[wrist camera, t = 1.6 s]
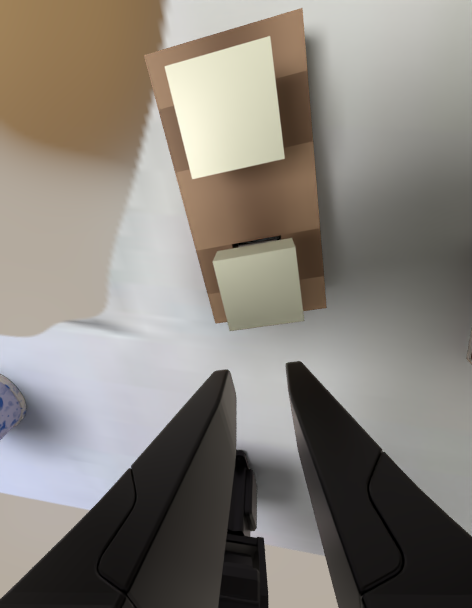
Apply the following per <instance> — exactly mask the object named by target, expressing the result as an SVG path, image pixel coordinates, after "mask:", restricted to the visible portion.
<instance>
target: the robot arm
mask: <svg viewBox="0 0 472 608" xmlns="http://www.w3.org/2000/svg"><path fill="white" fill-rule="evenodd" d="M286 374H287V384H288V392H289V398H290V404H291V410H292V416H293V423H294V429H295V435H296V441H297V447H298V452H299V456H300V460H301V464H302V468H303V472H304V476H305V479H306V483H307V487H308V491H309V495H310V499H311V503H312V507H313V510H314V514H315V518H316V522H317V526H318V530H319V534H320V537H321V541H322V545H323V549H324V553H325V557H326V560H327V565H328V568H329V572H330V576H331V580H332V584H333V588H334V592H335V595H336V599H337V603H338V607H339V608H472V536H471V535H470V534H468V533H467V532H466V531H465V530H464V529H463V528H462V527H461V526H460V525H458V524H457V523H456V522H455V521H454V520H453V519H452V518H451V517H449V516H448V515H447V514H446V513H445V512H444V511H443V510H442V509H441V508H440V507H439V506H438V505H437V504H436V503H434V502H433V501H432V500H431V499H430V498H429V497H428V496H427V495H426V494H425V493H424V492H423V491H422V490H421V489H420V488H419V487H418V486H417V485H416V484H415V483H414V482H413V481H412V480H411V479H410V478H409V477H408V476H407V475H406V474H405V473H404V472H403V471H402V470H401V469H400V468H399V467H398V466H397V465H396V464H395V463H394V461H393V460H392V459H391V458H390V457H389V456H388V455H387V454H386V453H385V452H382V449H381V448H380V447H379V445H378V444H377V443H376V442H375V441H374V440H373V439H372V438H371V437H370V436H369V435H368V434H367V432H366V431H365V430H364V429H363V428H362V427H361V426H360V425H359V424H358V423H357V422H356V421H355V419H354V418H353V417H352V416H351V415H350V414H349V413H348V412H347V411H346V410H345V409H344V408H343V406H342V405H341V404H340V403H339V402H338V401H337V400H336V399H335V398H334V397H333V396H332V395H331V393H330V392H329V391H328V390H327V389H326V388H325V387H324V386H323V385H322V384H321V383H320V382H319V380H318V379H317V378H316V377H315V376H314V375H313V374H312V373H311V372H310V371H309V370H308V369H307V367H306V366H305V365H304V364H303V363H302V362H300V361H297V362H288V363H286ZM256 528H257V484H256V480H255V476H254V473H253V470H252V469H249V465H248V462H247V458H246V455H245V453H244V452H240V451H239V452H236V392H235V388H234V384H233V380H232V377H231V373H230V371H229V370H218V371H215V372H213V373H212V374H211V376H210V377H209V378H208V379H207V380H206V381H205V382H204V384H203V385H202V386H201V387H200V388H199V389H198V390H197V392H196V393H195V394H194V395H193V396H192V397H191V398H190V399H189V401H188V402H187V403H186V404H185V405H184V406H183V407H182V409H181V410H180V411H179V412H178V413H177V414H176V415H175V417H174V418H173V419H172V420H171V421H170V422H169V423H168V424H167V426H166V427H165V428H164V429H163V430H162V431H161V432H160V434H159V435H158V436H157V437H156V438H155V439H154V440H153V442H152V443H151V444H150V445H149V446H148V447H147V448H146V449H145V451H144V452H143V453H142V454H141V455H140V456H139V457H138V459H137V460H136V461H135V462H134V463H133V464H132V466H131V468H129V469H128V470H127V471H126V472H125V473H124V474H123V475H122V477H121V478H120V479H119V480H118V481H117V482H116V483H115V484H114V486H113V487H112V488H111V489H110V490H109V491H108V492H107V493H106V494H105V495H104V496H103V498H102V499H101V500H100V501H99V502H98V503H97V504H96V505H95V506H94V507H93V508H92V509H91V510H90V511H89V512H88V513H87V514H86V515H85V516H84V517H83V518H82V519H81V520H80V521H79V522H78V523H77V524H76V525H75V526H74V527H73V529H71V530H70V531H69V532H68V533H67V534H66V535H65V536H64V538H62V539H61V540H60V541H59V542H58V543H57V544H56V545H55V546H54V547H53V548H52V549H51V550H50V551H49V552H48V553H47V554H46V555H45V556H44V557H43V558H42V559H41V560H40V561H39V562H38V563H37V564H36V565H35V566H34V567H33V568H32V569H31V570H30V571H29V572H28V573H27V574H26V575H25V576H24V577H23V578H22V579H21V580H20V581H19V582H18V583H17V584H16V585H14V586H13V587H12V588H11V589H10V590H9V591H8V592H7V593H6V594H5V595H4V596H3V597H2V598H1V599H0V608H268V587H267V573H266V562H265V548H264V538H262V537H257V538H254V537H250V531H255V529H256Z"/></svg>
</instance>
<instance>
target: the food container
mask: <svg viewBox="0 0 472 608" xmlns="http://www.w3.org/2000/svg"><path fill="white" fill-rule="evenodd" d="M466 359H467V360H468V361H469V362H470V363H471V364H472V329H471V335H470V341H469V346H468V352H467V358H466Z"/></svg>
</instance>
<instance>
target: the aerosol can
mask: <svg viewBox="0 0 472 608" xmlns="http://www.w3.org/2000/svg"><path fill="white" fill-rule="evenodd" d="M26 408H27V407H26V404H25V400H24V397H23V396H22V394H21V393H20V391H19V390H18V388H17V387H16V386H15V385H14V384H13V383H12V382H10V381H9V380H8V379H7V378H6V377H4V376H2V375H1V374H0V440H1V439H2V438H3V437H4V436H5V435H6V434H7V432H8V431H9V430H10V429H11V428H12V427H14V426H17V424H18V423H19V422H20V421H21V420H22V419H23V418H24V417H25V413H26Z"/></svg>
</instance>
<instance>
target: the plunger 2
mask: <svg viewBox="0 0 472 608" xmlns="http://www.w3.org/2000/svg"><path fill="white" fill-rule="evenodd" d="M213 265H214V269H215V273H216V277H217V281H218V286H219V290H220V294H221V298H222V302H223V306H224V310H225V314H226V318H227V322H228V326H229V330H230V331H234V330H241V329H249V328H256V327H263V326H271V325H278V324H285V323H293V322H300V321H304V315H303V307H302V298H301V290H300V282H299V273H298V265H297V256H296V248H295V245H294V242H293V240H292V238H288V239H282V240H277V241H276V239H272V240H267V241H261V242H256V243H250V244H245V245H239V246H238V248H233V249H227V250H221V251H217V253H216V255H215V257H214V260H213Z"/></svg>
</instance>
